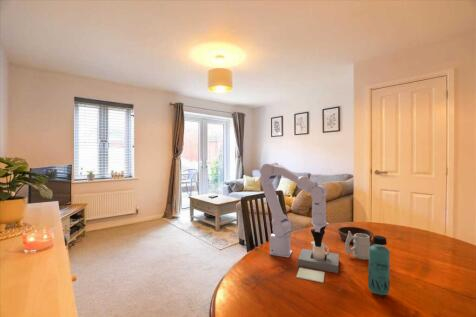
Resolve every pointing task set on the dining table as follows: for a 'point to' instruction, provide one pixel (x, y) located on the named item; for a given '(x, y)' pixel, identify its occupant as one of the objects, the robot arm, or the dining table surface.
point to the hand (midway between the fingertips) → (318, 243)
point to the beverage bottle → (379, 266)
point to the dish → (353, 232)
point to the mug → (358, 245)
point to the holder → (318, 261)
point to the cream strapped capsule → (320, 251)
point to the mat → (311, 275)
